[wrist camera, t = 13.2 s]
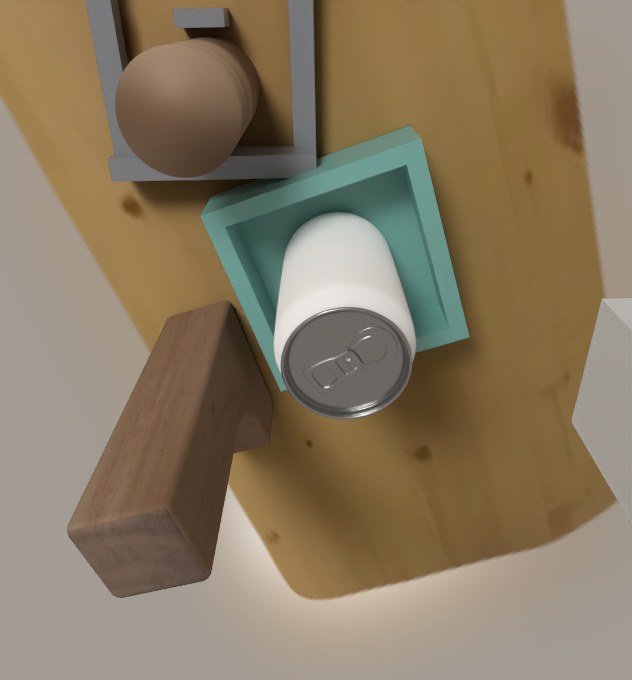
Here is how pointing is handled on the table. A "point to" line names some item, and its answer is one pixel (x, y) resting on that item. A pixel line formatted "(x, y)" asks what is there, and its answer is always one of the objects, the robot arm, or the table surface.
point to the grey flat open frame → (242, 159)
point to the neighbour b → (187, 104)
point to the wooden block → (173, 457)
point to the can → (342, 319)
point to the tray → (349, 197)
